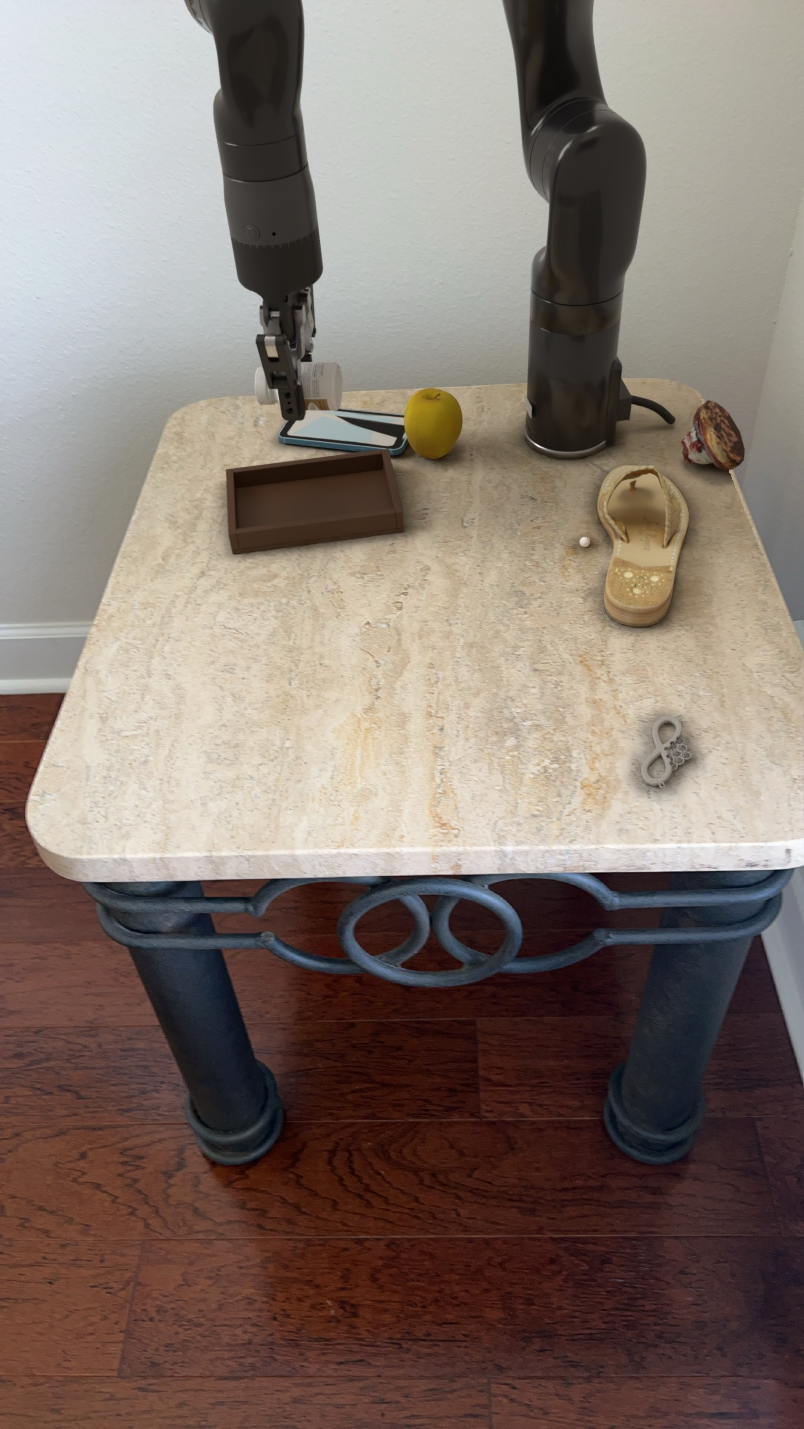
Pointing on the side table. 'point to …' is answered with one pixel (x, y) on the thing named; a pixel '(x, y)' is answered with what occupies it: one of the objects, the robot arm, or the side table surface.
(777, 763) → the side table surface
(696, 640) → the side table surface
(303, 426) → the smartphone
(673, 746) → the charm
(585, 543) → the sphere
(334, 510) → the tray
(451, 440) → the apple
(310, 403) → the pill bottle
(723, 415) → the pastry
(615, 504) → the sandal
